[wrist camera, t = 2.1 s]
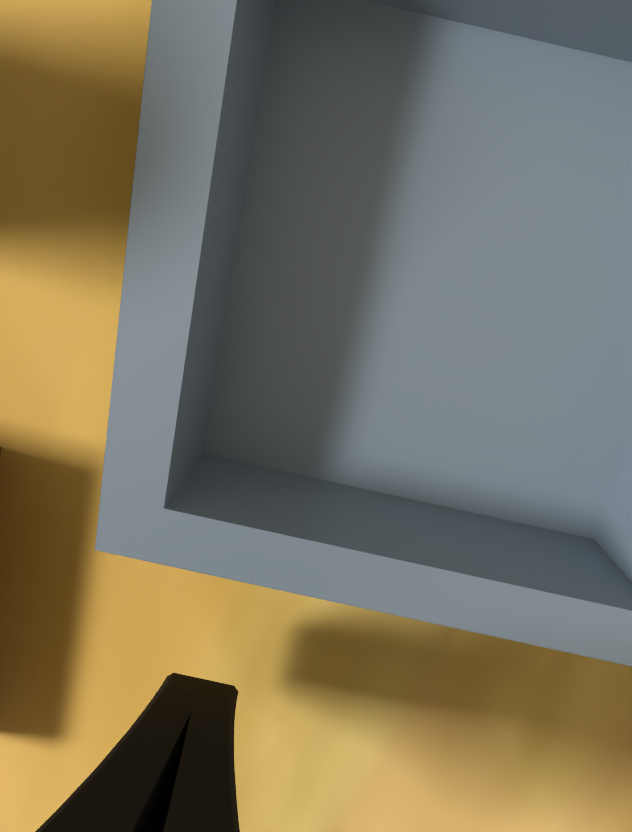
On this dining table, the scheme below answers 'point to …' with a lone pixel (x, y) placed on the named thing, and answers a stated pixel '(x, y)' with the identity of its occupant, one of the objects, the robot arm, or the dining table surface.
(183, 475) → the tray
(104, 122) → the dining table surface
